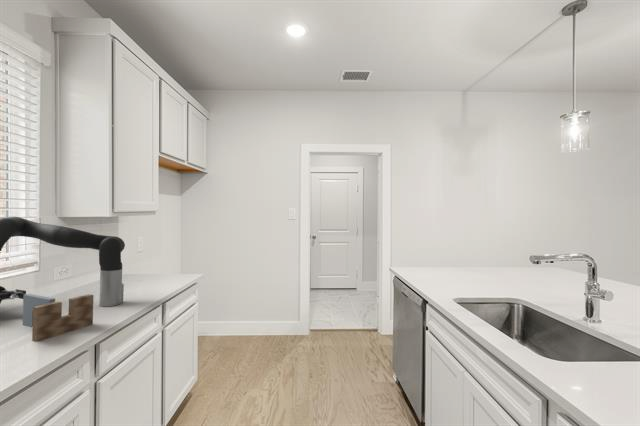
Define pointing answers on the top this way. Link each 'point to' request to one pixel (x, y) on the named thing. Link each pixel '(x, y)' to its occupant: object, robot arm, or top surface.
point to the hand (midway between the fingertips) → (13, 298)
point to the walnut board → (61, 317)
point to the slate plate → (28, 305)
